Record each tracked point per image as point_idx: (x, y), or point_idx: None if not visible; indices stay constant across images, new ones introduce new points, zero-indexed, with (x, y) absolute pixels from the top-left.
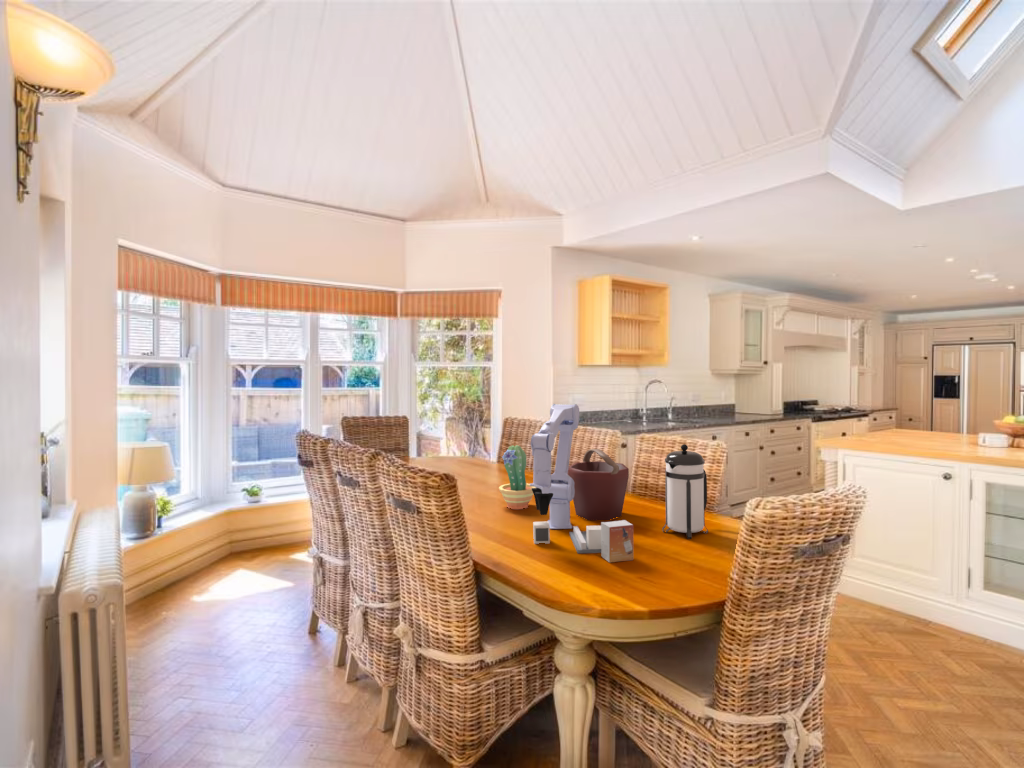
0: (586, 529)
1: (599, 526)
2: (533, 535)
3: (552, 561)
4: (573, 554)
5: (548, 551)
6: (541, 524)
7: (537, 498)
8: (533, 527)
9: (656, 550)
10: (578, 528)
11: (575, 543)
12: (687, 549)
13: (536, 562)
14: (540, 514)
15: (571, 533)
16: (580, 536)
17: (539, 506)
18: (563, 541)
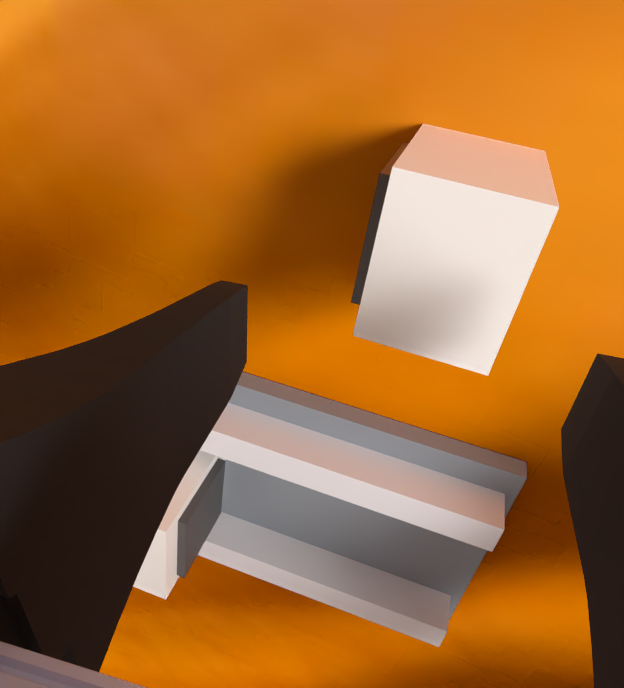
0: (173, 510)
1: (147, 579)
2: (534, 159)
3: (30, 143)
4: (143, 316)
5: (212, 182)
6: (401, 267)
7: (8, 384)
8: (510, 178)
9: (167, 615)
10: (432, 529)
11: (263, 397)
12: (168, 677)
13: (3, 12)
14: (229, 283)
15: (479, 470)
16: (254, 456)
17: (129, 324)
18: (395, 365)
